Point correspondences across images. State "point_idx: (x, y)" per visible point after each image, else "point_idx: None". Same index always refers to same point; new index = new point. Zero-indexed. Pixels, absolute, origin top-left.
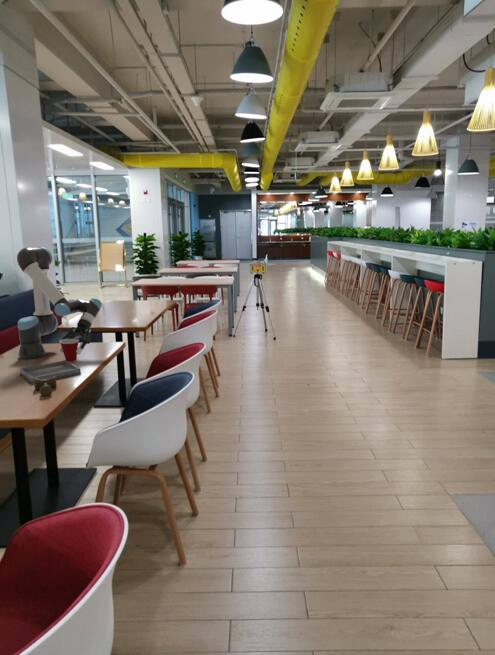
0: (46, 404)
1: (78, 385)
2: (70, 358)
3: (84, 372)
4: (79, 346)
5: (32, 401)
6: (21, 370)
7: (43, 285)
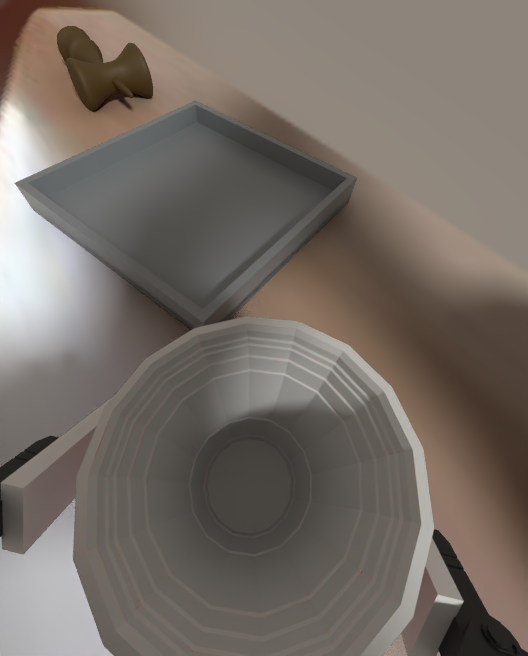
0: None
1: (3, 115)
2: (226, 431)
3: (19, 229)
4: (74, 433)
5: (106, 50)
6: (322, 162)
7: None
